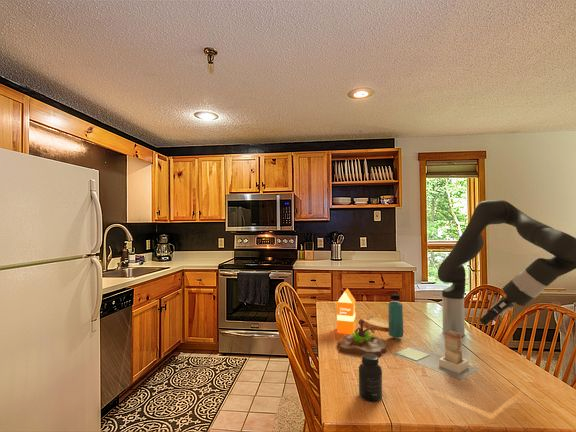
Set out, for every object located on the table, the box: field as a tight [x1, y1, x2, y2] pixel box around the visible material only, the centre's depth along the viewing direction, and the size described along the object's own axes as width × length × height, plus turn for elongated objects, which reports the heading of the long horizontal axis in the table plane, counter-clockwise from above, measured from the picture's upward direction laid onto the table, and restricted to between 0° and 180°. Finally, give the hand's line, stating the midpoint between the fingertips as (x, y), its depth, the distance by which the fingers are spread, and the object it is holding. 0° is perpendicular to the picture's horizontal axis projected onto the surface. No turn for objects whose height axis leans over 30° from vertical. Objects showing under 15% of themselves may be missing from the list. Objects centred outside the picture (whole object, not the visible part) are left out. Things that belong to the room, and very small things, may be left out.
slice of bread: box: [358, 315, 389, 332], centre depth 164 cm, size 18×18×4 cm
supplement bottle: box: [358, 353, 383, 403], centre depth 96 cm, size 7×7×12 cm
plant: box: [337, 320, 387, 357], centre depth 135 cm, size 20×20×11 cm
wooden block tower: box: [444, 330, 463, 364], centre depth 114 cm, size 4×4×12 cm
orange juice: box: [336, 288, 356, 335], centre depth 156 cm, size 8×9×20 cm
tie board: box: [392, 345, 480, 381], centre depth 119 cm, size 14×26×4 cm, turn 36°
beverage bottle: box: [387, 293, 404, 339], centre depth 145 cm, size 6×7×20 cm
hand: (486, 320), depth 106 cm, fingers open, 8 cm apart
